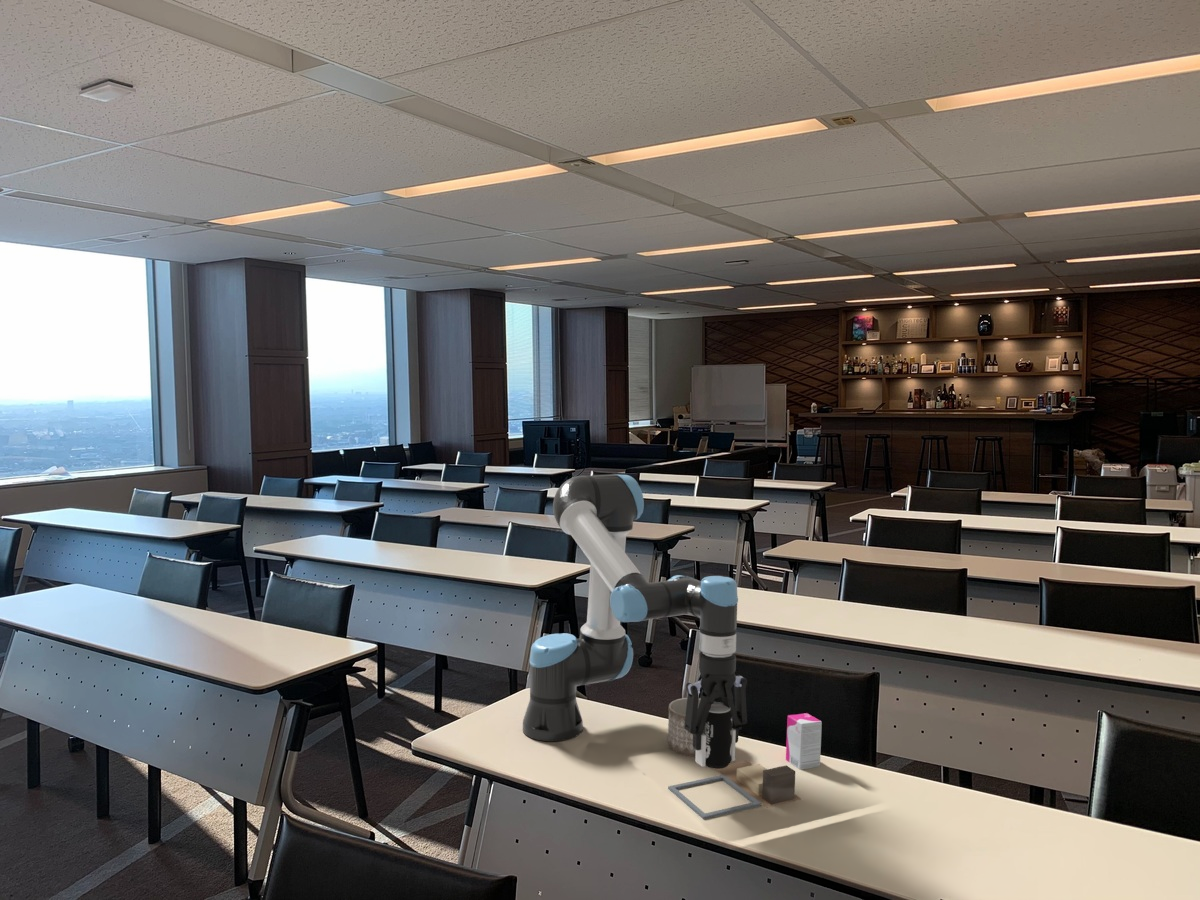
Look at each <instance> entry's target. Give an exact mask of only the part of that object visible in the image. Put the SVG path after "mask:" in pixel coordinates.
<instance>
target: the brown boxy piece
mask: <svg viewBox="0 0 1200 900" xmlns="http://www.w3.org/2000/svg"><path fill="white" fill-rule="evenodd" d="M751 765H753V764H752V763H750V762H749V761H748V760H742V761H737V762H731V763H730V764H729V765H728V766H727V767H725V768H721V769H715V771H717V772H718V773H720V775H725V776H726V777H727V778H729V779H730V780H731V781H733V782H734V783H735V784H737V785H738V786H739V787H741V788H742V789H743V790H745V791H746V792H747V793H749V794H750V795H751V796H753V797H754V798H755V799H757V800H758V801H759V802H761V803H762V805H763V807H765V808H770V807H774V806H778V805H783V804H786V803H791V802H792V803H793V802H795V801H799V800H802V798H801V797H800V796H798V795H797V794H795V791H796V770H794V769H793V768H791V767H790V766H788V765H782V766H777V767H772V768H766V769H767V770H763V789H762V795H759V796H758V795H757V794H755V793H754V792H753V791H751V790H750V789H749V788H747V787H746V786H744V785H743V784H742V783H740V782H739V781H738V780H737V768H742V767H747V766H751Z"/></svg>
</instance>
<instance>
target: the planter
mask: <svg viewBox="0 0 1200 900" xmlns="http://www.w3.org/2000/svg"><path fill="white" fill-rule="evenodd" d="M700 700H701V698H700V697H699V701H698V707H699V703H700ZM686 706H687V697H683V698H677V699H675V700H673V701H671V702H669V704H668V727H667V728H668V729H667V730H668V733H667V735H668V736H667V737H668V738H667V744H668V747H669V748H670V749H671V750H672V751H674V752H675V753H678V754H680V755H684V756H690V757H695V754H696V749H694V748H693V734H691V733H690V732H688V731H687V730H685V728H684V725H685V716H686Z"/></svg>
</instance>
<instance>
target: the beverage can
mask: <svg viewBox="0 0 1200 900" xmlns="http://www.w3.org/2000/svg"><path fill="white" fill-rule="evenodd" d="M703 734H705V735H706V762H705V766H704V767H706V768H710V769H714V770H716V769H721V768H725V767H727V766H728V765H729V764H731V763H732V760H731V754H732V713H731V711H730V707H729V708H728V707H727V706H725V705H724V704H723V702H722V701H720V702H719V701H714V703H713V704H712V705H711V708H710V710H709V715H708V717H707V721H706V724H705V728H704V731H703Z"/></svg>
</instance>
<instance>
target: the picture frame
mask: <svg viewBox="0 0 1200 900" xmlns="http://www.w3.org/2000/svg"><path fill="white" fill-rule="evenodd" d="M718 781H723V782H724V783H726V785H728V786H730V787H731V788H732V789H734V791H736V792H738V793H739V794H740V795H741V796H742V797H744V798H745V799H747V800H748V801H749V802H748V803H745V804H740V805H735V806H732V807H727V808H722V809H719V810H714V811H710V812H706V813H705V812H704V811H703V810H702V809H701V808H699V807H698V806H697V805H696V804H695V803H693V801H691V800H690V799H689V798H687V797H686V796H685V795H684V794H683V793H682V792H681V791H680V790H682V789H686V788H687V789H688V788H690V787H695V786H700V785H704V784H710V783H715V782H718ZM667 787H668V788H667V789H668V790H669V791H670V792H671V793H672V794H674V795H675V796H676V797H677V798H678V799H679V800H680V801H681V802H683V803H684V804H685V805H686V806H687V807H688V808H689V809H691V810H692V811H693V813H695V814H697V816H699V817H700V819H701V818H702V820H706V819H711V818H714V817H718V816H719V817H720V816H724V815H728V814H731V813H736V812H741V811H747V810H749V809H753V808H758V807H761V806H762V803H761V802H759V801H758V800H757V799H755V798H754V797H753V796H751V795H750V794H749V793H747V792H746V791H745V790H743V789H742V788H741V787H739V786H738V785H737V784H735V783H734V782H733V781H731V780H730V779H729V778H727V777H726V776H725V775H722V774H720V775H715V776H711V777H710V776H709V777H706V778H702V779H701V778H700V779H696V780H692V781H688V782H682V783H679V784H674V785H668V786H667Z"/></svg>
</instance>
